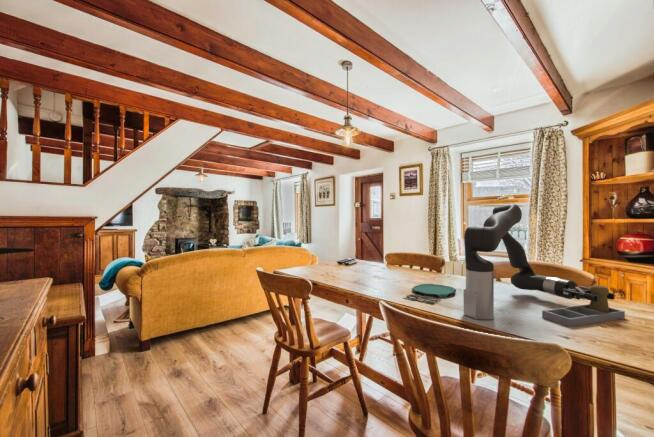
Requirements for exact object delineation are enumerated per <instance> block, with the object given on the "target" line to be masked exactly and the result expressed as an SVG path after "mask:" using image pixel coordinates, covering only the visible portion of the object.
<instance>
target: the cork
mask: <svg viewBox="0 0 654 437" xmlns="http://www.w3.org/2000/svg"><path fill="white" fill-rule="evenodd" d="M589 287H590V292H591V293H592V294H593V295H597V296H598V297H599V301H598V302H595V301H591V300H589V301H590V302H589V304H590V307H589V309H592V310H596V311H599V312H603V313H609V301H608V300H609V299H607V295H608V294H609V293H610V290H609V288H608V287H607V286H604V285H600V284H597V285H596V284H595V285H591V286H589Z"/></svg>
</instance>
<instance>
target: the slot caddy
mask: <svg viewBox="0 0 654 437" xmlns="http://www.w3.org/2000/svg"><path fill="white" fill-rule="evenodd" d="M589 307H590V303H588V304H581V305H574V306H566V307H558V308H552V309H545V310H543V309H542V310H541V317H542V318H543V319H545V320H549V321H552V322H556V323H558V324H561V325H564V326H566V327H570V328H571V327H572V328H573V327H578V326H579V327H580V326H584V325H590V324H597V323H604V322H609V321H610V322H611V321H617V320H622V319H625V317H626V316H625V314H626V311H625V310H621V309H617V308H612V307H609V313H603V312H599V311H596V310H592V309H589Z"/></svg>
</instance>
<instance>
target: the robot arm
mask: <svg viewBox="0 0 654 437" xmlns="http://www.w3.org/2000/svg"><path fill="white" fill-rule="evenodd" d="M522 214H523V213H522V209H521V207H520V206H519V205H517V204H515V203H510V204H504V205H500V206H496V207H494V208H493V209H492V214H491V215H489V217H488V218H486V219H485V221H484V223H483V226H468V227H466V228H465V231H464V236H463V238H464V240H463V242H464V262H465V288H464V289H463V315H465V316H467V317H468V318H472V319H474V320H485V321H487V320H493V319H494V318H495V317H494V316H495V315H494V312H495V311H494V309H495V308H494V305H495V304H494V302H495V299H494V298H495V297H494V294H495V293H494V292H495V290H494V286H495V284H494V283H495V282H494V280H495V278H494V277H495V276H494V275H495V274H494V273H495V272H494V271H495V268H494V266H495V264H494V263H493V262H492V261H490V260H487V259H485V258H483V257H482V256H481V255H480V254H478V252H480V253H481V252H482V253H492V252H494V251H495V250H497V248H498V247H499V246H500V243H501V241H502V242H503V245H504V247H505V250H506V253H507V256H508V260H509V263H510V267H512V268H514V269H518V270H519V271H518V272H516V273H514V274H513V275H511V277H510V282H511V284H512V286H514V287H515V288H517V289H520V290H525V291H539V292H542V293H546V294H549V295H552V296H556V297H559V298H563V299H567V300H572V299H575V300H586V301H595V302H598V301H599V297H598V296H597V295H593V294H592V293H591V292H590V287H591V286H582V285H579V286H578V285H577V283H576V282H575V281H574V280H570V279H565V278H560V277H555V276H554V277H553V276H547V275H541V274H539V275H538V274H536V273H535V272H534V270H533V268H532V267H531V265H530V263H529V262H528V258H527V255H526V250H525V249H524V247H523V245H522V244H521V243H520V242H519V241H518V240H517V239H515V237H513V236H512V235H511V234H510V232H509V231H510V230H511V229H512V228H513V227H514V226H515V225H517V224H519V223H520V221H521V220H522V218H523V216H522ZM615 296H616V295H615V293H613V292H609V294H608V295H607V300H610V301H611V300H615V299H616V298H615Z"/></svg>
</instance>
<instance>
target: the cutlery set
mask: <svg viewBox="0 0 654 437" xmlns="http://www.w3.org/2000/svg"><path fill="white" fill-rule="evenodd" d="M411 290H412V291H413V292H414V293H419V294H421V295H419V294H411V293H410V294H408V295H406V297H402V299H403V300H408V301H414V302H416V301H417V302H420V303H425V304H431V305H435V303H438V302H441V301H442V300H441V299H445V298H446V297H447V296H452V295H454V294H456V293H457V292H456V291H457V288H454V287H453V286H449V285H443V284H434V283H420V284H418V285H415V286H413V287H411ZM422 295H425V296H422ZM432 296H435V297H436V296H437V297H440V298H441V299H438V298H433V297H432Z"/></svg>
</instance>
